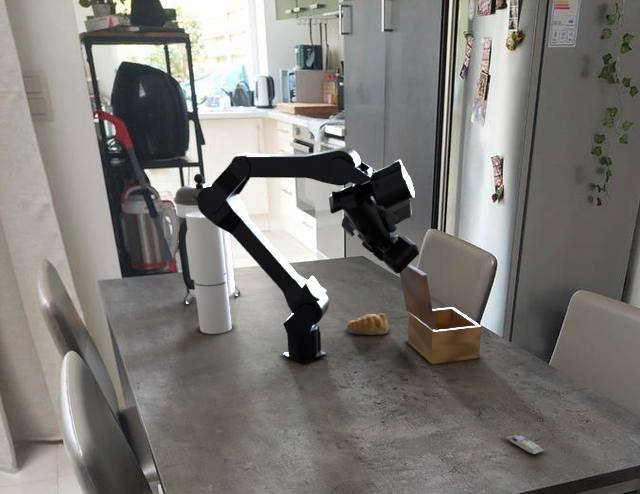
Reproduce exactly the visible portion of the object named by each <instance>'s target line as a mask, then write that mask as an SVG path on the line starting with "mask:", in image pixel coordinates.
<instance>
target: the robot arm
mask: <svg viewBox="0 0 640 494" xmlns="http://www.w3.org/2000/svg"><path fill="white" fill-rule="evenodd" d="M251 178H258V179H259V178H263V179H264V178H265V179H266V178H268V179H269V178H270V179H271V178H272V179H274V178H275V179H276V178H277V179H291V178H292V179H309V180H314V181H316V182H320V183H323V184H328V185H333V186H341V187H342V186H346V185H348V184H349V183H351V185H348V186H346V187H344V188H342V189H340V190H338V191H335V190H333V191H331V194H330V195H329V197H328V202H329V204H328V205H329V210H330V214H336V213H338V212H340V211H343V212H344V214H345V216H344V217H343V218H342V220H341V227H342V229H343V231H344V232H346V233H347V234H348V235H349V236H350V237H351V238H353V237H354V236H355V235H356V233H355V232H354V231H356V232H357V233H358V234H357V238H358V239H359V240H360V241H362V242H361V246H362V247H363V248H364V249H366V250H367V251H368V252H369V253H371V254H373V256H374V257H375V258H376V259H378V260H379V261H381V262H383V263H384V264H385V265H386V266H387V267H388V268H389V269H390V270H391V271H392V272H393V273H394V274H396V275H397V274H400V273H401V272H402V271H403V270H404V269H405V268H406V267H407V266H408V265H409V264H410V265H411V263H412V262H413V261H414V260H415V259H416V257H418V256H419V255H420V249H419V247H418V246H417V244H416V243H415V242H414V241H412V240H411V239H409V238H408V237H407V236H405V235H404V236H400V235H399V234H398V233H397V232H396V231H397V229H398V228H397V226H396V225H398V224H399V223H402V222H403V221H405V220H407V219H410V218H411V217H412V216H413V214H412V211H413V210H412V202H411V201H412V199H414V198H415V196H416V195H415V188H414V186H413V181H412V178H411V176H410V175H409V174H408V171H407V170H406V167H405V166H404V164H403V163H402V160H401V159H398V160H396V161H394V162H392V163H391V164H389V165H387V166H384V167H383V168H381V169H378V170H376V169H374V168H373V167H372V166H370V165H368V164H367V163H365V162H363V161H362V160H361V158H360V156H359V154H358V152H357V151H356V150H355V149H353V148H352V147H349V146H343V147H337V148H333V149H328V150H327V149H326V150H323V151H318V152H314V153H310V154H309V153H308V154H307V153H302V154H301V153H300V154H299V153H296V154H295V153H290V154H289V153H278V154H277V153H262V154H261V153H250V152H244V153H240V154H238V155H235V156H234V157H233V158H232V160H231V162H230V163H229V164H228V165H227V167H226V168H225V169H224V170H223V171H222V172H221V173H220V174H219V176H217V178H216V179H215V180H214V181H213V182H212V184H210V186H207V187H205V188H203V189H202V190H201V191H200V193H199V194H198V199H197V200H198V208H199V210H200V212H201V213H202V214H203V215H204V216H205V217H206V218H207V219H209V220H210V221H211V222H212V223H214V224H215V225H216V226H218V227H219V228H221V229H223V230H225V231H227V232H229V233H230V235H231V236H233V238H234V239H235V240H236V241H237V242H238V243H239V244H240V246H241V247H242V248H243V249H244V250H245V251H246V253H248V254H249V256H250V257H251V258H252V259H253V260H254V261H255V262H256V264H257V265H258V266H259V267H260V268H261V269H262V270H263V272H265V273H266V275H267V276H268V277H269V278H270V279H271V280H272V281H273V283H274V284H275V285H276V286H277V287H278V288H279V289H280V291H281V292H282V294H283V296H284V299H285V301H286V305H287V307H288V308H289V310H290V311H291V314H290V315H289V317H288V318H287V319H286V320H285V321H284V323H283V328H284V330H285V332H286V337H287V351H286V352H284V353H283V355H282V356H283V357H284V358H287V359H290V360H291V361H294V362H295V361H296V362H298V363H301V364H307V363H310V362H313V361H315V360H317V359H320V358H322V357H325V356H326V352H325V351H321V350H322V339H321V331H320V324H318V323H320V321H321V320H322V319H323V317H324V316H325V314H326V313H327V312H328V309H329V308H330V307H329V306H330V302H329V301H330V300H329V297H328V295H327V294H326V293H327V289H325V288H324V287H323V286H321V284H320V283H319V282H318V280H317V279H316V278H315V276H314V275H311V276H310V278H309V279H307V278H305V277H303V276H301V275H300V274H299V273H298V272H297V271H296V270H295V269H294V268H293V266H292V265H291V264H290V263H289V261H288V260H286V259H285V257H283V255H282V254H281V253H280V252H279V250H278V249H277V248H276V247H275V246H274V245H273V244H272V242H271V241H270V240H269V239H268V238H267V237H266V236H265V235H264V233H263V232H262V231H261V230H260V229H259V228H258V226H257V225H256V224H255V223H254V221H252V219H251V218H250V217H249V215H248V211H247V209H246V206H245V204H244V202H243V200H242V199H241V197H240V196H239V195H240V194H241V193H242V192H243V190H244V189H245V187H246V186H247V184H248V182H249V181H250V179H251Z"/></svg>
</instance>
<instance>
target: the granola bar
mask: <svg viewBox="0 0 640 494" xmlns="http://www.w3.org/2000/svg"><path fill="white" fill-rule="evenodd" d="M506 438H507V439H508V441H509V442H511V443H512V444H514V445H516V446H518V447H519V448H521V449H523V450H524V451H526V452H528V453H529V454H533V455H536V454H539V453H542V452H544V451H545V449H544V448H542V447H541V446H540V445H538V444H537V443H535V442H533V441H532V440H530V439H528V438H526V437H525V436H522V435H520V434H519V433H514V434H512V435H508V436H506Z"/></svg>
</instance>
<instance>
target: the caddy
mask: <svg viewBox="0 0 640 494" xmlns="http://www.w3.org/2000/svg"><path fill="white" fill-rule="evenodd" d="M432 310H433V316H434V322H435V327H436V329H434V330H431V329H430V328H429V327H428V326H426V325H425V324H424V323H422V322H421V321H420V320H419V319H417V318H416V317H415V316H413V315H412V314H411V313H409V312H408V311H407V313H408V314H407V315H408V316H407V344H408V345H410V346H411V347H412V348H413V349H414V350H415V351H416V352H418V353H419V354H420V355H421V356H422V357H424V358H425V359H426V360H427V361H428V362H429V363H430V364H432V365H437V364H444V363H445V364H446V363H453V362H459V361H466V360H474V359H479V358H480V352H481V351H480V350H481V340H482V339H481V338H482V330H483V329H482V328H483V326H482V325H480V324H479V323H478V322H476V321H475V320H473V319H472V318H470V317H469V316H467V315H466V314H464V313H463V312H462V311H459V310H458V309H456V308H455V307H453V306H452V307H443V308H432Z"/></svg>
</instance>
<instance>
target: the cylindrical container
mask: <svg viewBox="0 0 640 494" xmlns="http://www.w3.org/2000/svg"><path fill="white" fill-rule="evenodd" d="M186 221H187V229H188V237H189V245H190V253H191V261H192V269H193V277H194V285H195V292H196V298H195V300H196V309H197V315H198V323H199V324H198V325H199V330H200V332H201V333H204V334H209V335H219V334H225V333H227V332H229V331H231V330H232V319H231V309H230V298H229V297H230V296H228V288H227V278H226V268H225V258H224V248H223V238H222V229H221V228H219V227H218V226H216V225H215V224H214V223H212V222H211V221H210V220H209V219H207V218H206V217H205V216H204V215H203V214H202V213H201V212H200V211H199V212H191V213H188V214H186Z"/></svg>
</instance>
